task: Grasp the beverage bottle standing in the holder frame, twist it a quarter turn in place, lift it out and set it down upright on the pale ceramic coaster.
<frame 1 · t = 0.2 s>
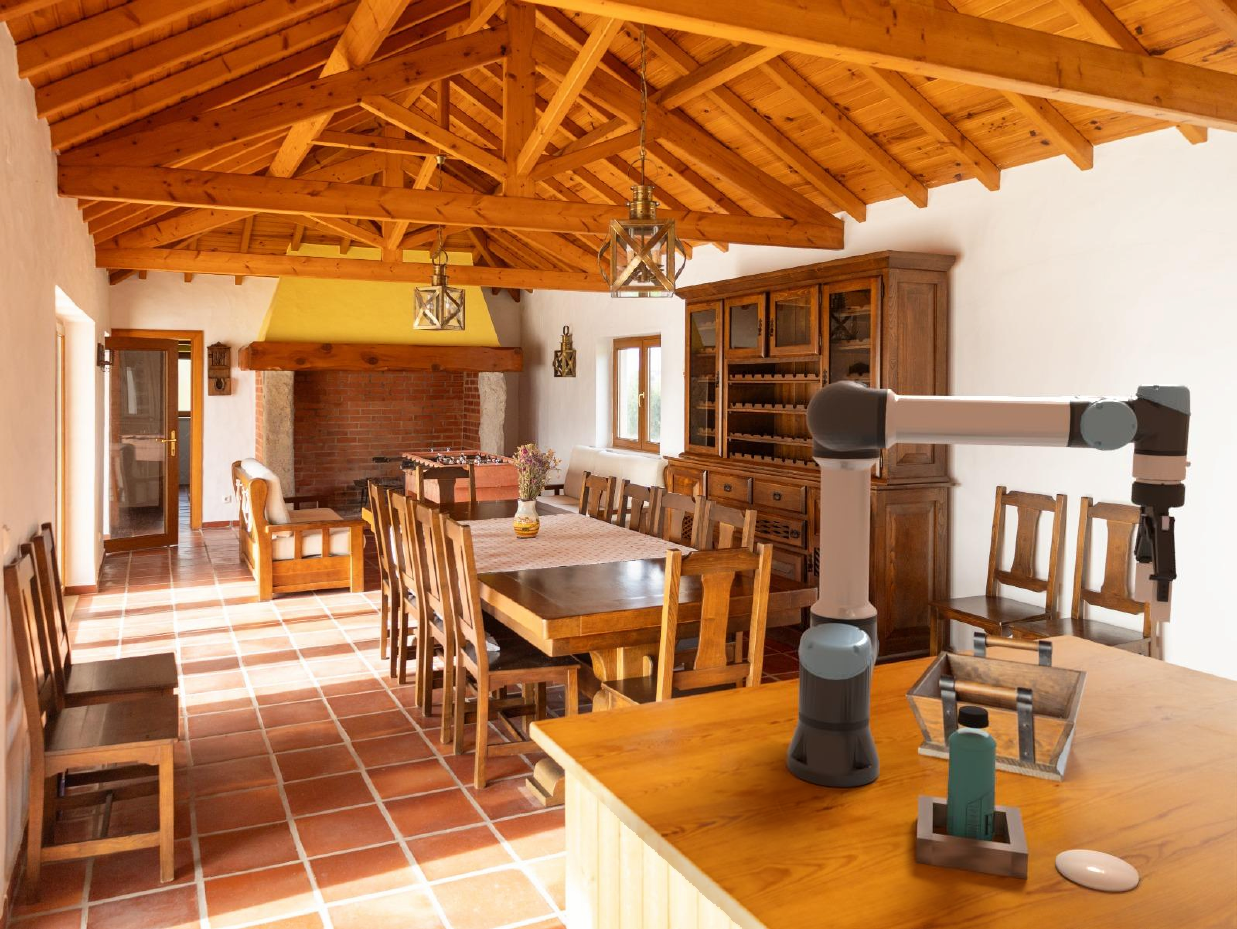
hand: (1151, 611, 157), 28 cm above the counter, fingers open, 13 cm apart
coaster: (1096, 871, 130), on the counter
holder: (969, 846, 137), on the counter
beverage bottle: (968, 847, 137), resting in holder
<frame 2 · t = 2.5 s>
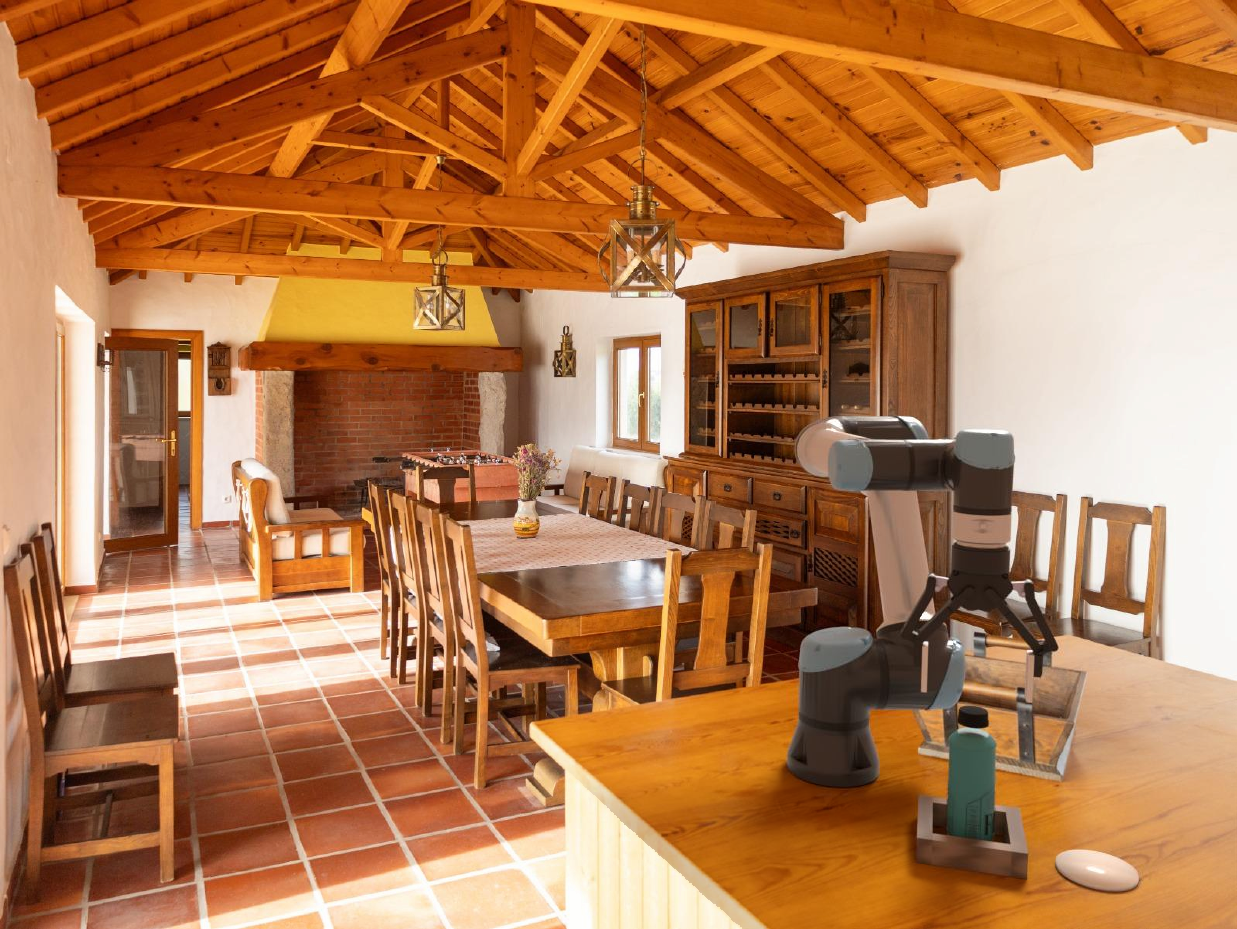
hand: (975, 694, 134), 22 cm above the counter, fingers open, 13 cm apart
nothing on the counter moved.
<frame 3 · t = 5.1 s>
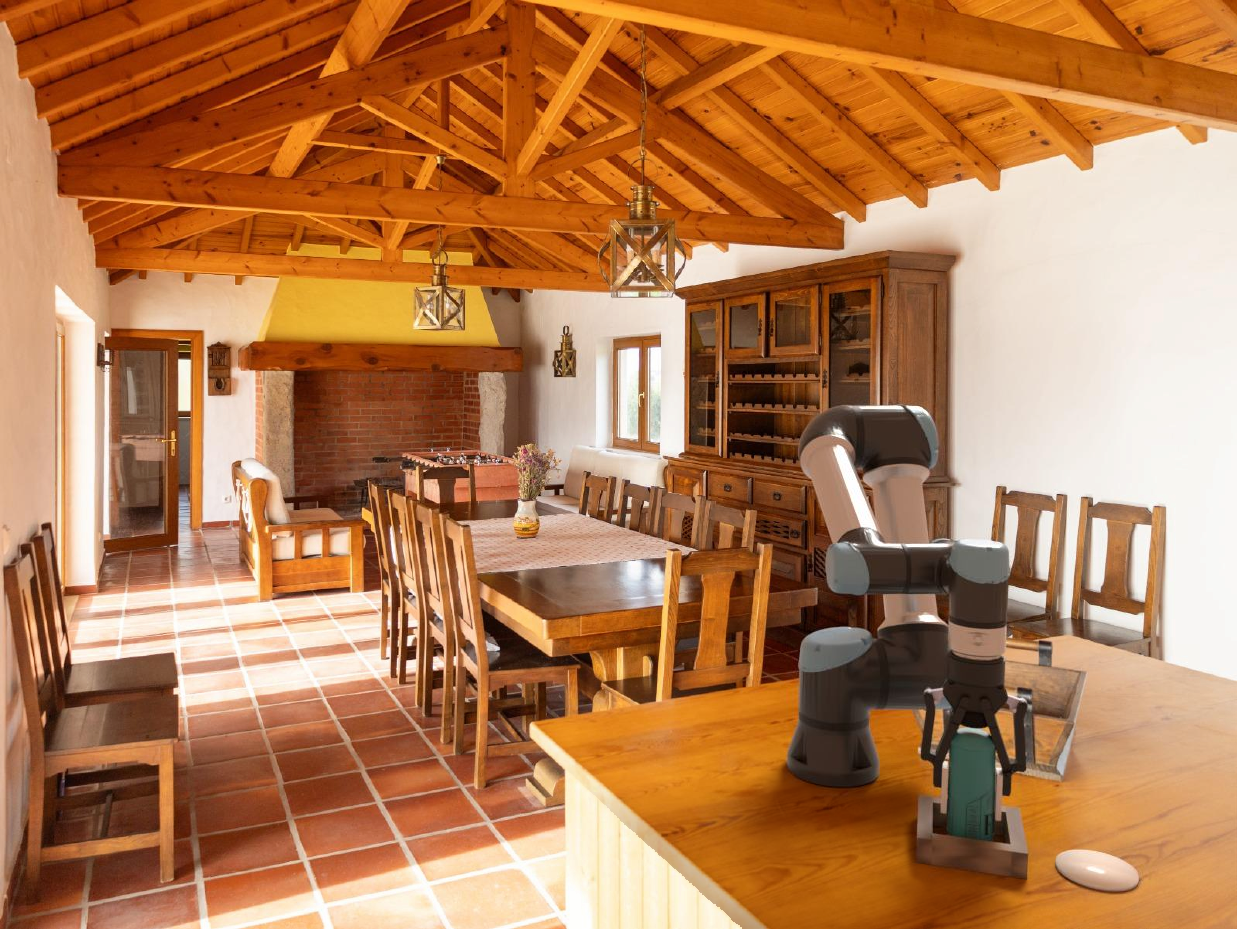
hand: (970, 812, 136), 5 cm above the counter, fingers closed on beverage bottle, 6 cm apart
beverage bottle: (968, 847, 137), resting in holder, touching gripper
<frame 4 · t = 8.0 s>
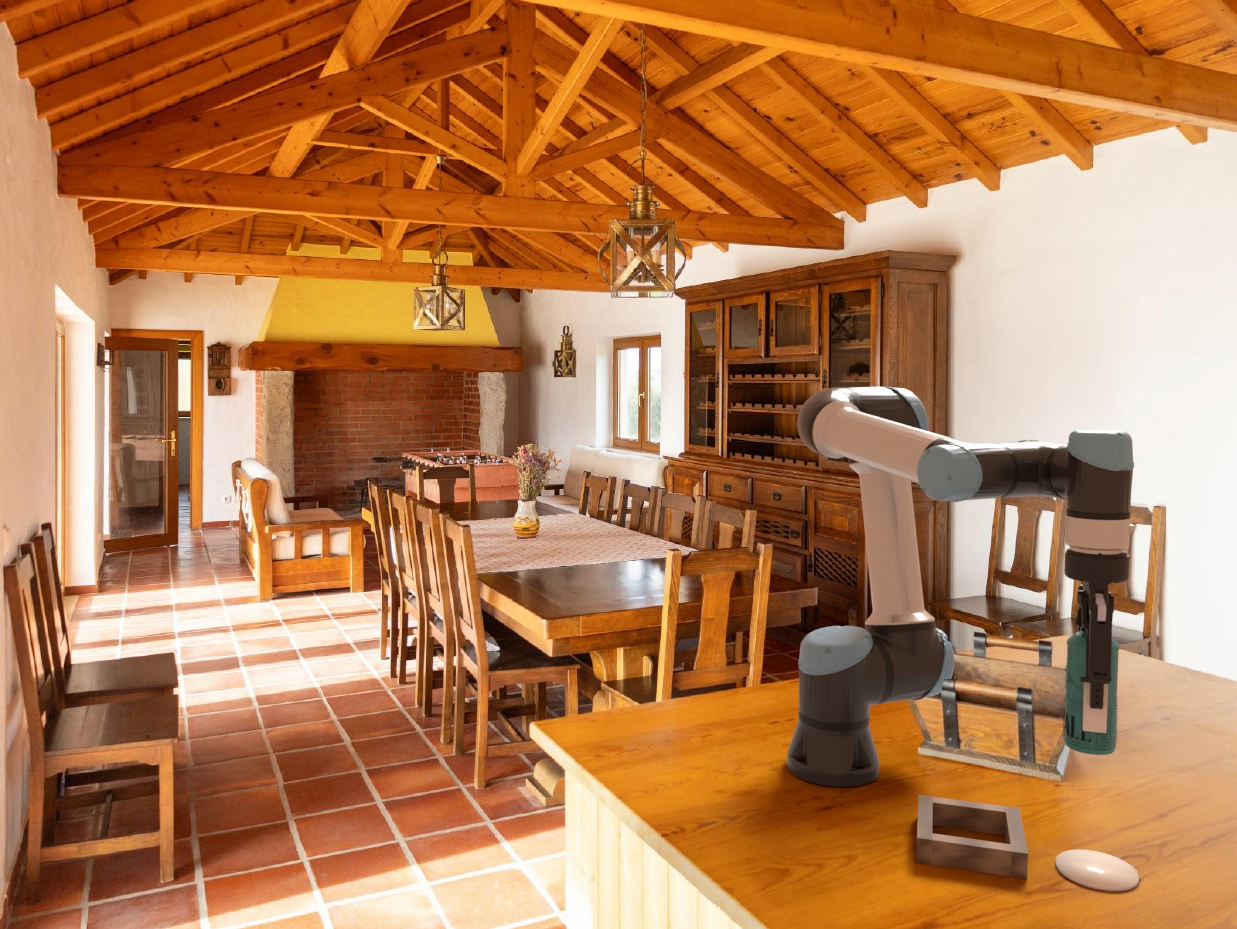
hand: (1090, 721, 128), 21 cm above the counter, fingers closed on beverage bottle, 6 cm apart
beverage bottle: (1088, 758, 128), point 16 cm above the counter, touching gripper
when the fingers open (7 cm above the counter, at t = 11.4 s): beverage bottle drops 1 cm, resting on coaster.
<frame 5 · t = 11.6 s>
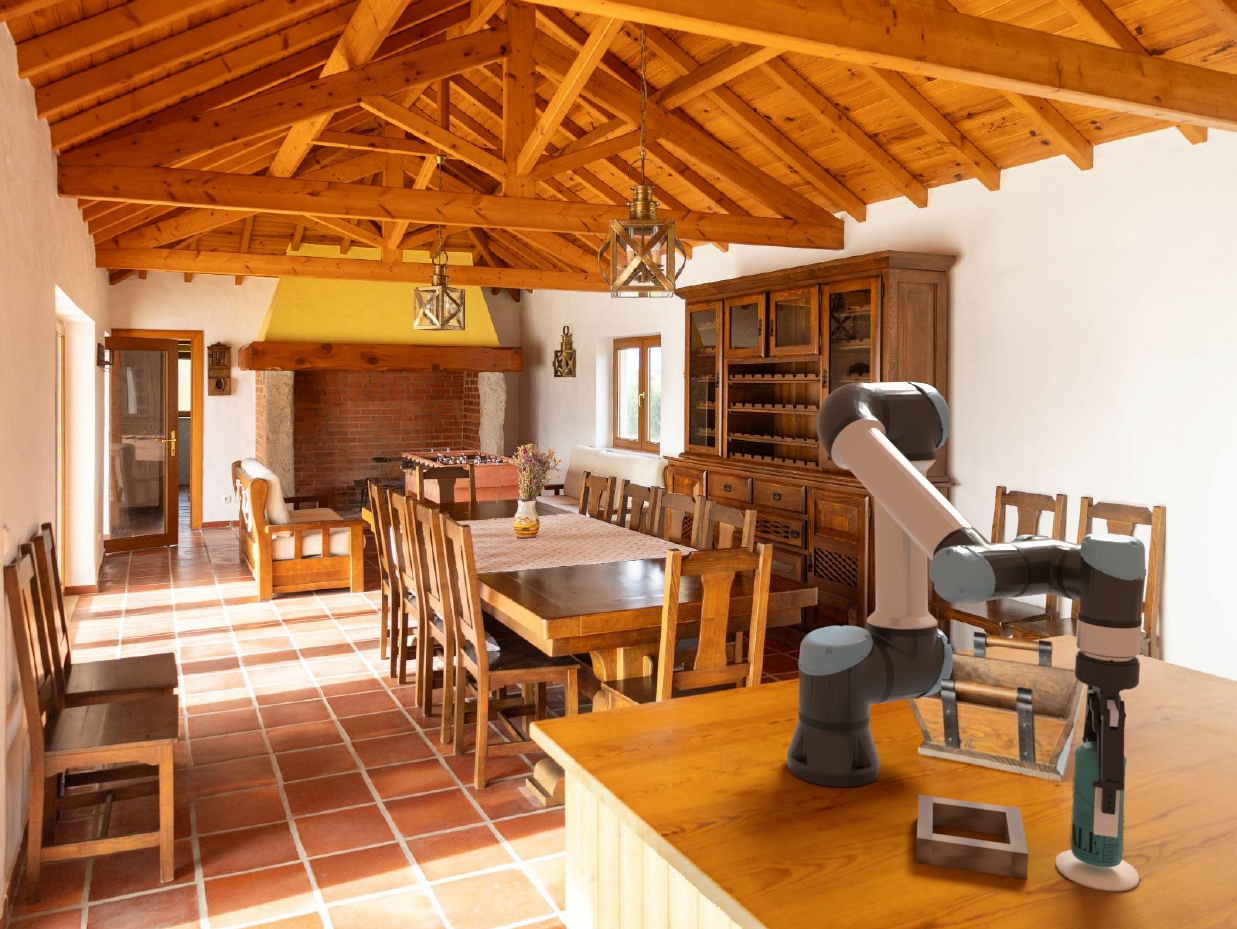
hand: (1099, 817, 129), 8 cm above the counter, fingers open, 9 cm apart
beverage bottle: (1095, 868, 130), resting on coaster
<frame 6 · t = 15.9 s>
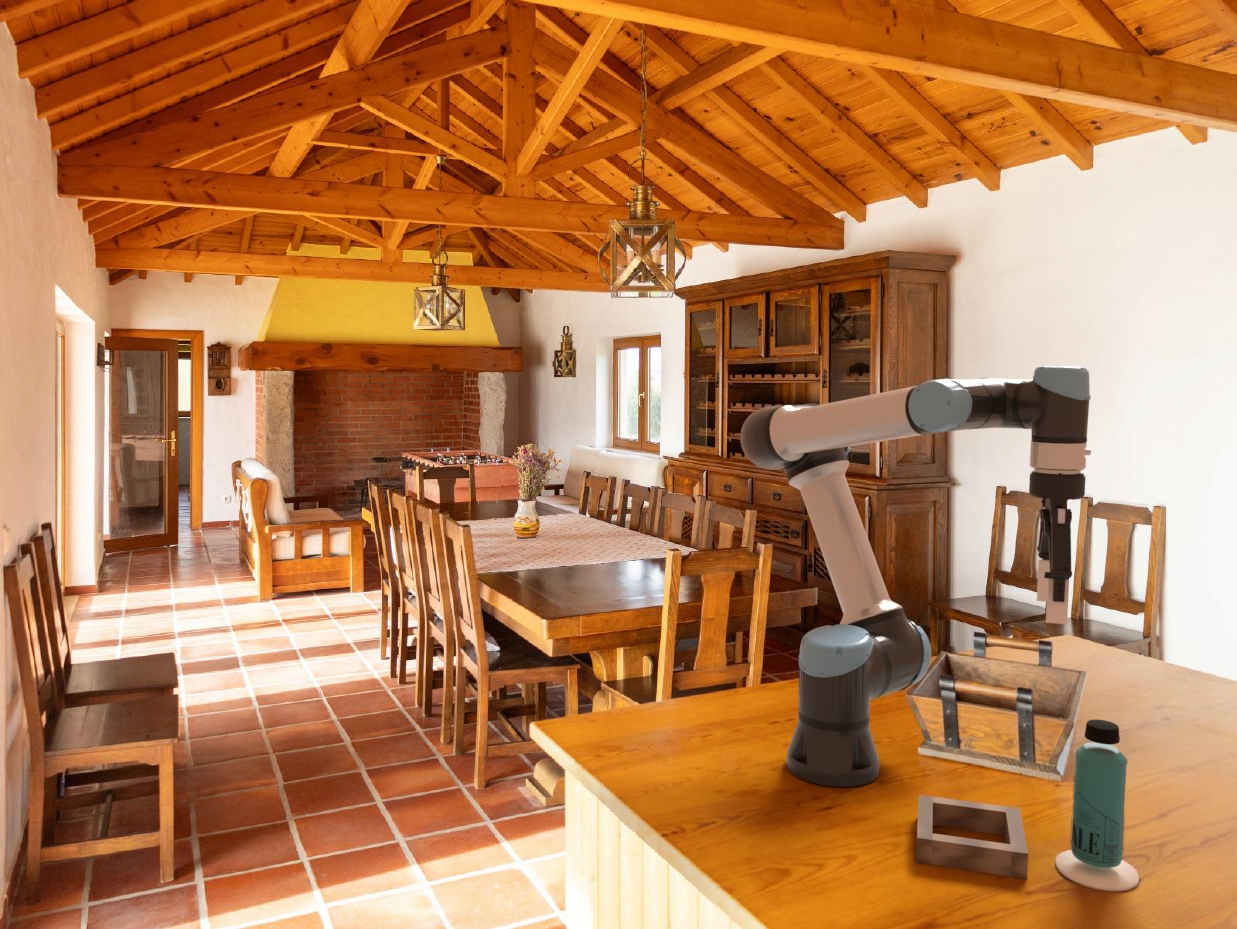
hand: (1051, 611, 145), 31 cm above the counter, fingers open, 13 cm apart
nothing on the counter moved.
at the end: beverage bottle inside the target area on the coaster (0.2 cm from its centre), point 0.3 cm above the coaster's base; beverage bottle tilted 0°; the gripper is holding nothing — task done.
